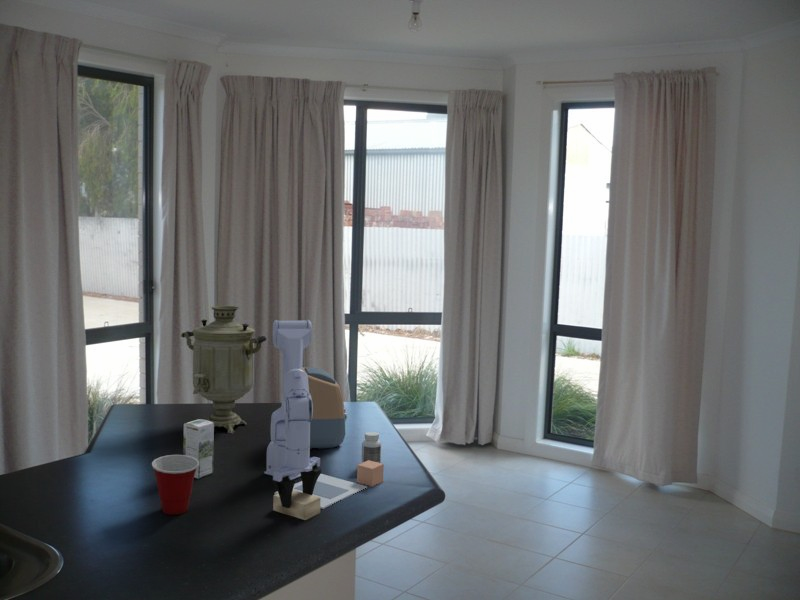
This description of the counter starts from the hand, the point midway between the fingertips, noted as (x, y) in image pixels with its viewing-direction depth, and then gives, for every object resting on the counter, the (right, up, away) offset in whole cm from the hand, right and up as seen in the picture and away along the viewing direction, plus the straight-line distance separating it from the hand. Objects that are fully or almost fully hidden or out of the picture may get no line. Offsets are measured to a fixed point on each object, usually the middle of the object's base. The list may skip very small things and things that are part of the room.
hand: (296, 502), depth 180 cm
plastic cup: (-29, -2, -1) cm, 29 cm away
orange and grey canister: (-2, +4, +55) cm, 55 cm away
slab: (0, -3, 0) cm, 3 cm away
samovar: (-36, +6, +67) cm, 76 cm away
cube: (+17, -1, +22) cm, 27 cm away
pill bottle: (+16, +1, +34) cm, 38 cm away
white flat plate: (+4, -1, +14) cm, 15 cm away
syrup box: (-30, +1, +24) cm, 38 cm away
